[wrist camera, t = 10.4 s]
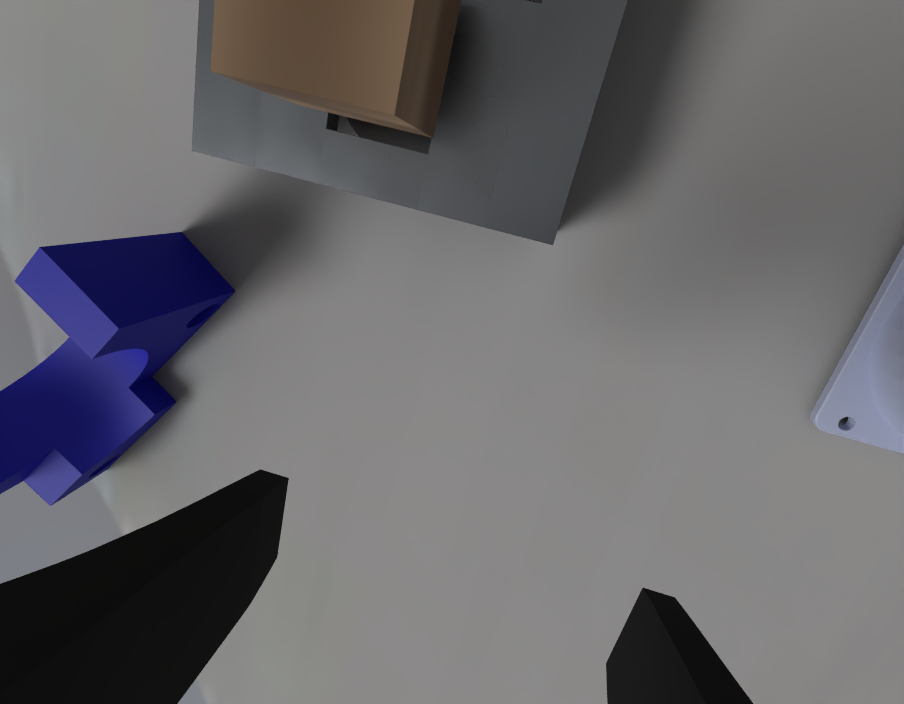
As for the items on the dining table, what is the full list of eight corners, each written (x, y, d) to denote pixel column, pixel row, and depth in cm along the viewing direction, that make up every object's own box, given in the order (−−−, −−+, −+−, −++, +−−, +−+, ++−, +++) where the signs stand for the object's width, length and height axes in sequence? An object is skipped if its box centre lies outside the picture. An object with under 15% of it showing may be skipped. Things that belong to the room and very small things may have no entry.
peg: (514, 12, 15) (492, -182, 7) (474, 179, 17) (423, 164, 9) (361, -22, 15) (187, -240, 8) (337, 145, 17) (174, 102, 9)
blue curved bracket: (107, 468, 24) (-26, 555, 18) (37, 399, 23) (-124, 466, 17) (264, 319, 20) (156, 368, 14) (184, 231, 19) (39, 247, 14)
